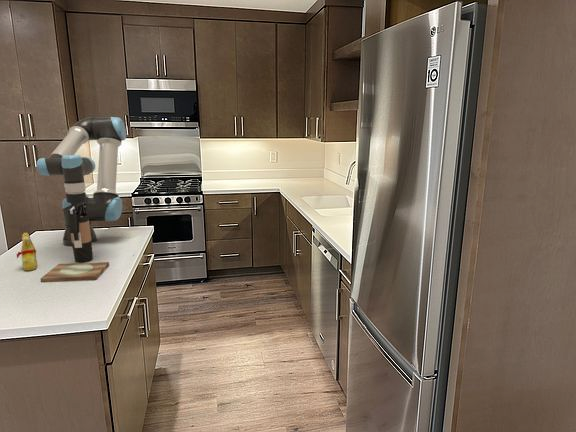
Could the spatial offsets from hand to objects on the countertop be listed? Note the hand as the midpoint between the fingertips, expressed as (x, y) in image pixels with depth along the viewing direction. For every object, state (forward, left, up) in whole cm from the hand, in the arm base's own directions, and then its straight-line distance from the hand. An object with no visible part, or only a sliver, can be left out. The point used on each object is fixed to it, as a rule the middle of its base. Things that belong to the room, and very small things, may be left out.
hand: (82, 244), depth 176 cm
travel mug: (0, 0, -7) cm, 7 cm away
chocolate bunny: (+7, -20, -7) cm, 22 cm away
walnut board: (+16, +3, -7) cm, 18 cm away
